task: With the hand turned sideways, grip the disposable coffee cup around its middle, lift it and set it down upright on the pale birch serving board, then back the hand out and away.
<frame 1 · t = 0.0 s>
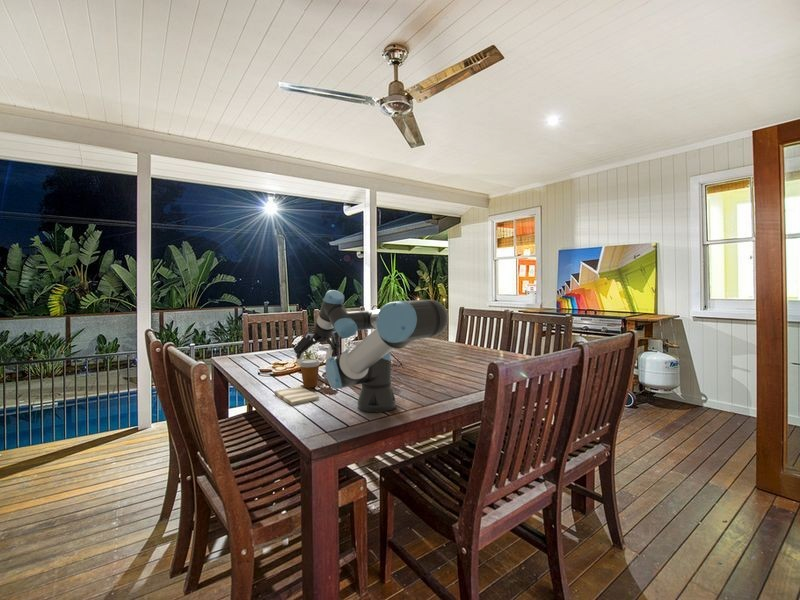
hand: (313, 360, 165), 15 cm above the table, tool tilted 35°, fingers open, 13 cm apart
disposable coffee cup: (310, 386, 181), on the table
serving board: (296, 396, 164), on the table
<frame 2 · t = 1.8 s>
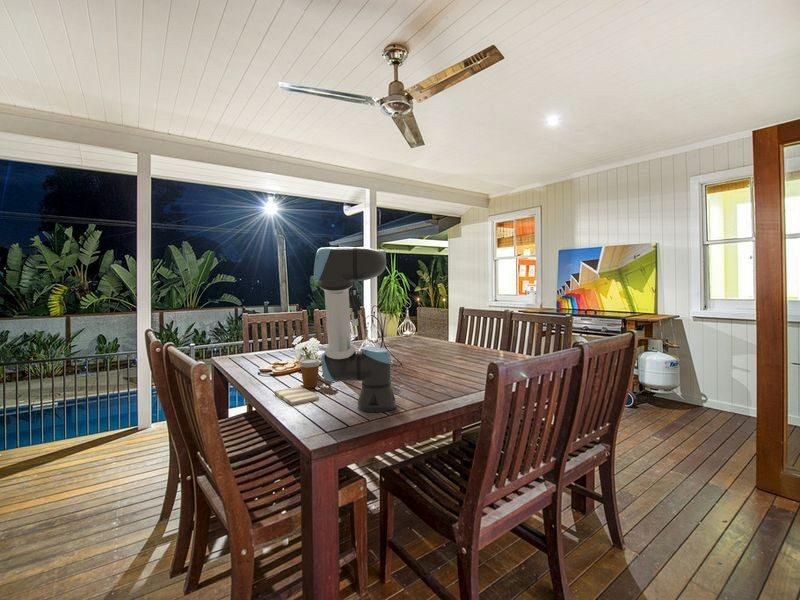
hand: (347, 324, 182), 29 cm above the table, tool pointing down, fingers open, 13 cm apart
nothing on the table moved.
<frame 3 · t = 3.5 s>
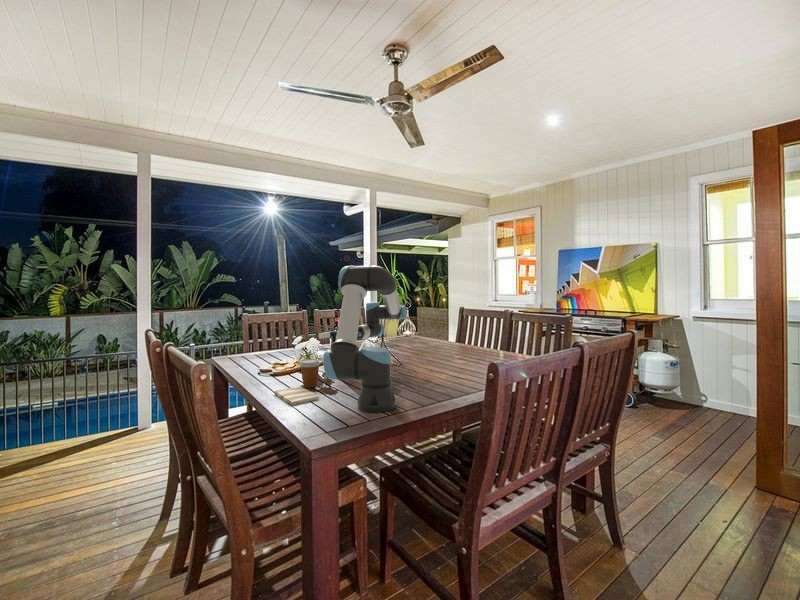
hand: (327, 337, 187), 22 cm above the table, tool horizontal, fingers open, 13 cm apart
nothing on the table moved.
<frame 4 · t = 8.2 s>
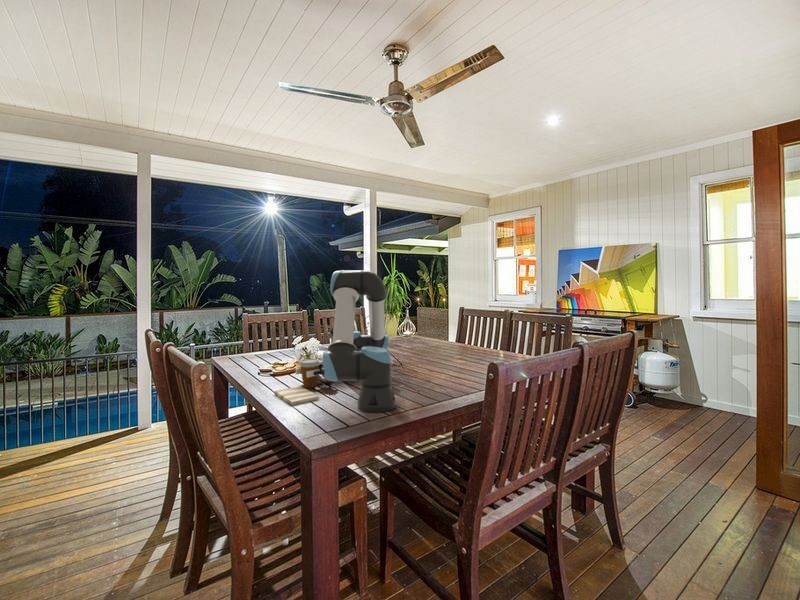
hand: (301, 373, 177), 7 cm above the table, tool horizontal, fingers closed on disposable coffee cup, 8 cm apart
disposable coffee cup: (310, 386, 181), on the table, touching gripper
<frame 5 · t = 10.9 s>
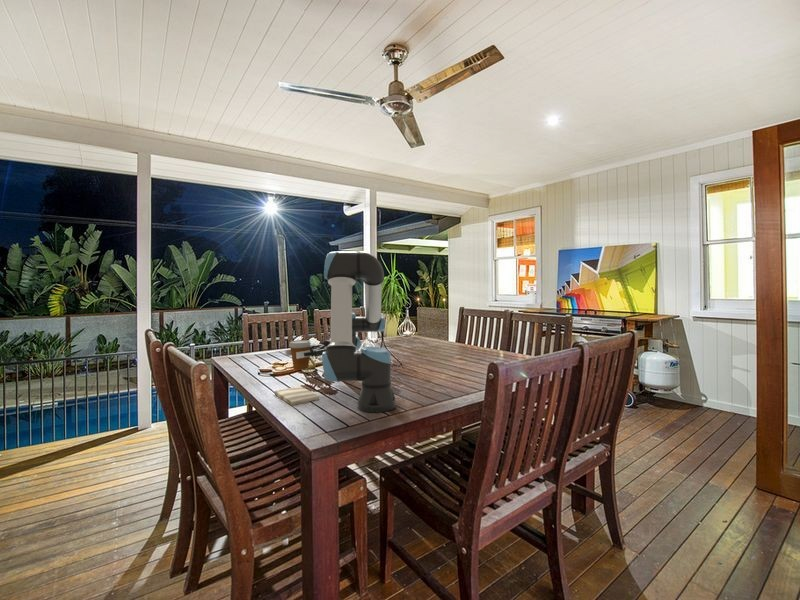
hand: (291, 354, 166), 18 cm above the table, tool horizontal, fingers closed on disposable coffee cup, 8 cm apart
disposable coffee cup: (300, 368, 170), point 11 cm above the table, touching gripper
when the fingers open (10 cm above the table, at t = 13.8 s): disposable coffee cup drops 1 cm, point 1 cm above the table.
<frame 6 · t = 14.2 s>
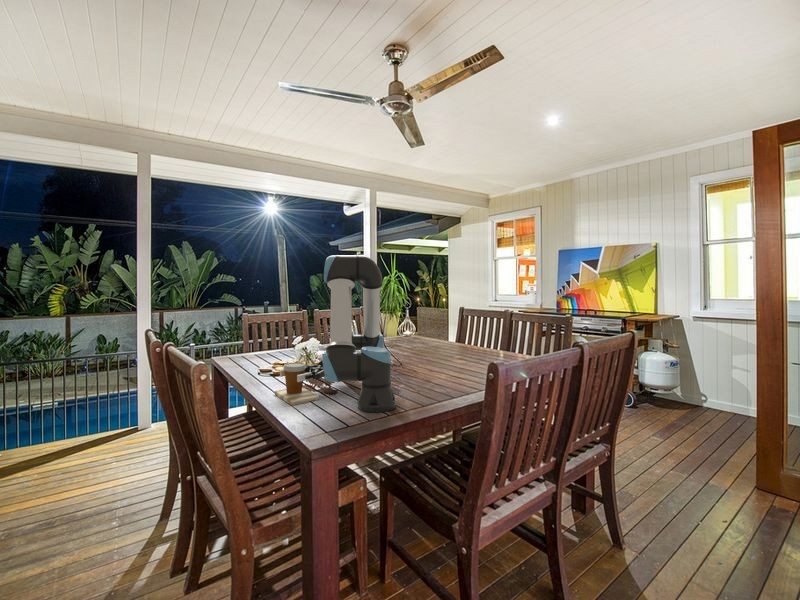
hand: (288, 376, 161), 10 cm above the table, tool horizontal, fingers open, 13 cm apart
disposable coffee cup: (294, 392, 166), point 1 cm above the table, touching gripper
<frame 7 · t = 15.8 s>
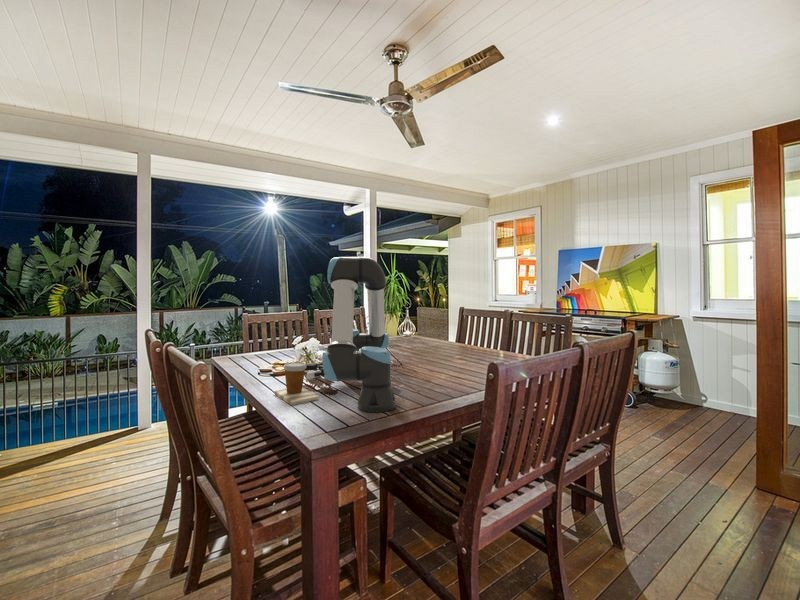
hand: (297, 373, 165), 10 cm above the table, tool horizontal, fingers open, 13 cm apart
disposable coffee cup: (294, 391, 166), point 1 cm above the table, touching gripper, serving board
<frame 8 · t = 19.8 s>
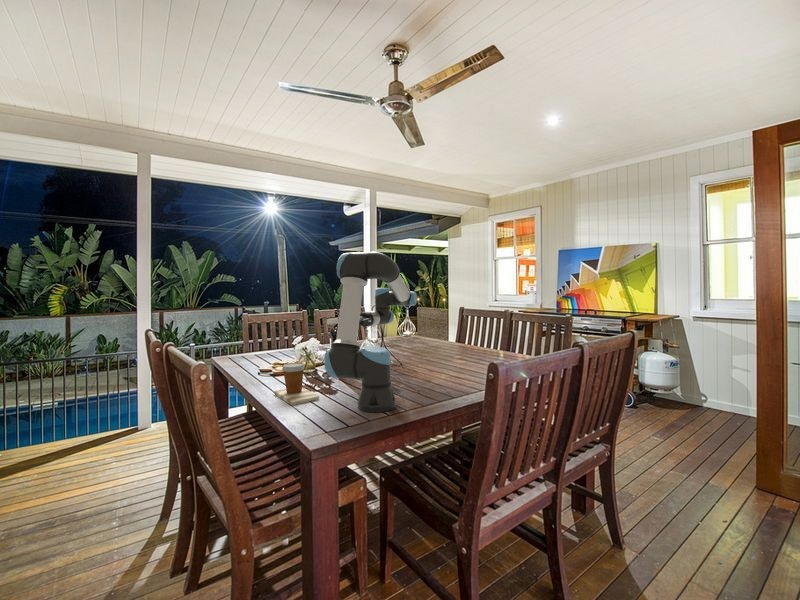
hand: (336, 322, 178), 30 cm above the table, tool horizontal, fingers open, 13 cm apart
disposable coffee cup: (294, 392, 166), point 1 cm above the table, touching serving board
at the end: disposable coffee cup inside the target area on the serving board (2.9 cm from its centre), point 1.3 cm above the serving board's base; disposable coffee cup tilted 0°; the gripper is holding nothing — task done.
